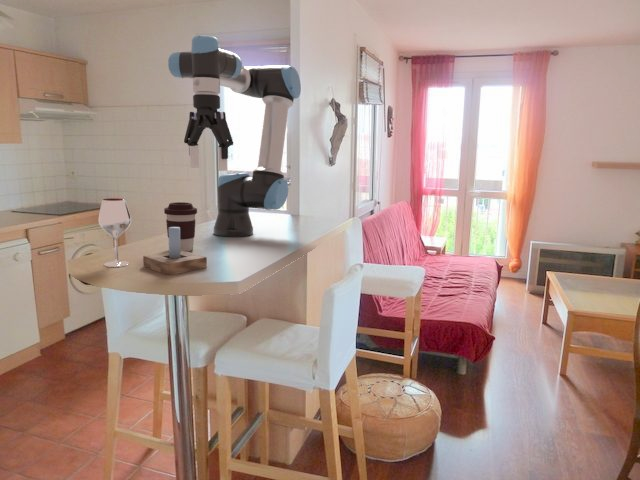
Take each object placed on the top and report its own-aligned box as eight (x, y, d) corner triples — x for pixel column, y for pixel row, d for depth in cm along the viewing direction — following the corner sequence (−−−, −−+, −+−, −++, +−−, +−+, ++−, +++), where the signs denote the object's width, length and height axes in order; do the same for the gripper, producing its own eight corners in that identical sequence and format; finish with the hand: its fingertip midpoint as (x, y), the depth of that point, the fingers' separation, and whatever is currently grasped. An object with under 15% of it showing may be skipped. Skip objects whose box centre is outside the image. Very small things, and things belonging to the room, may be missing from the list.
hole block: (181, 260, 141) (181, 250, 140) (206, 267, 133) (206, 257, 132) (143, 266, 132) (143, 256, 131) (168, 275, 124) (167, 263, 123)
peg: (176, 265, 134) (176, 226, 132) (182, 267, 133) (182, 227, 131) (167, 267, 132) (166, 227, 130) (173, 269, 130) (172, 229, 128)
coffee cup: (188, 254, 149) (187, 206, 146) (159, 251, 150) (158, 204, 148) (202, 248, 158) (202, 202, 155) (174, 245, 160) (173, 201, 157)
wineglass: (106, 260, 137) (103, 197, 133) (136, 261, 137) (134, 198, 134) (96, 267, 129) (92, 200, 125) (127, 268, 129) (125, 201, 126)
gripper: (170, 94, 143) (173, 166, 147) (223, 91, 127) (225, 172, 132) (191, 96, 148) (194, 166, 153) (245, 94, 133) (246, 171, 137)
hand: (208, 169), depth 142 cm, fingers open, 13 cm apart
